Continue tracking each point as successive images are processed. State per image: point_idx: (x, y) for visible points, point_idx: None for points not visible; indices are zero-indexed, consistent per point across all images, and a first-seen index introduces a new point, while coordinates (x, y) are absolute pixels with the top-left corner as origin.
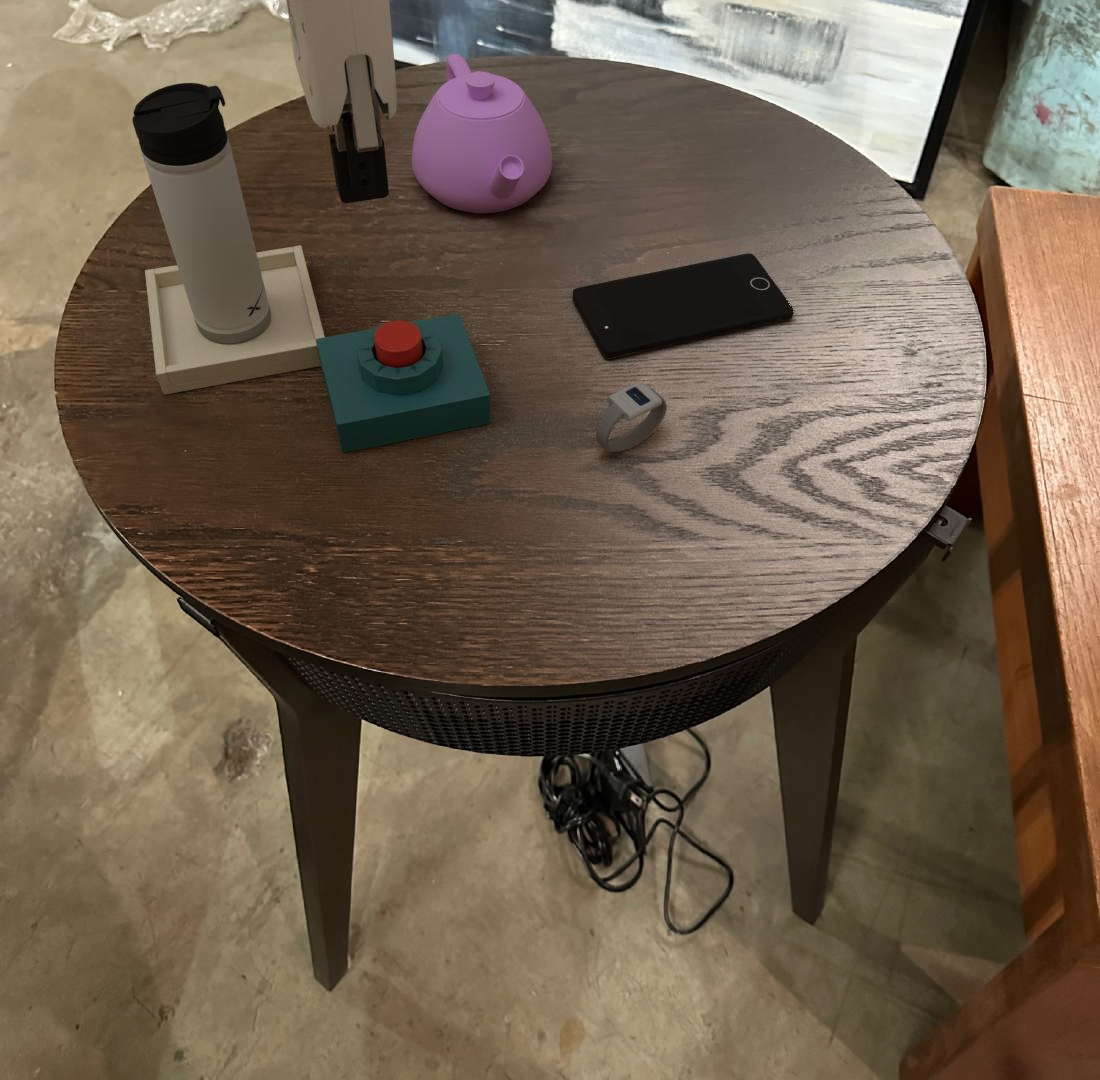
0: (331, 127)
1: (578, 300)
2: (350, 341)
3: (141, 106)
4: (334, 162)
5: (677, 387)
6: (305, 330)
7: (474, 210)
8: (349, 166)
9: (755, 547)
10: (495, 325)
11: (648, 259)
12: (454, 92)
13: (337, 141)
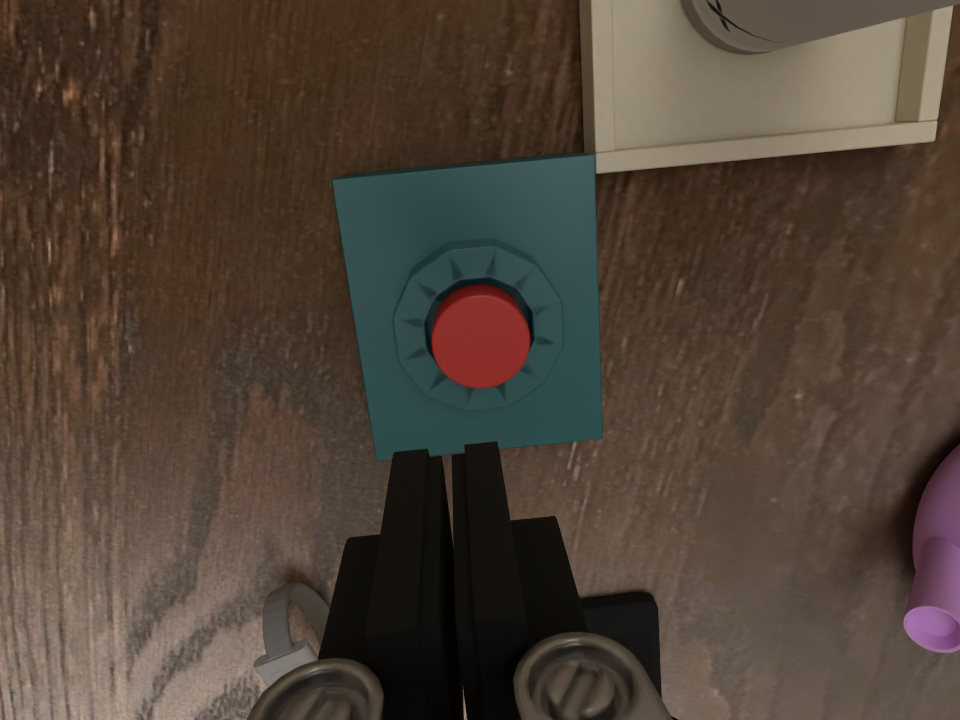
0: (586, 643)
1: (625, 606)
2: (570, 227)
3: None
4: (418, 547)
5: None
6: (680, 128)
7: (929, 483)
8: (337, 625)
9: (113, 709)
10: (617, 469)
11: (709, 703)
12: None
13: (333, 707)
